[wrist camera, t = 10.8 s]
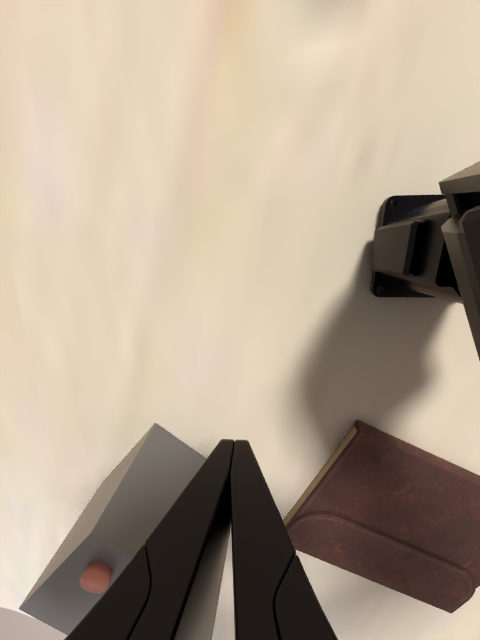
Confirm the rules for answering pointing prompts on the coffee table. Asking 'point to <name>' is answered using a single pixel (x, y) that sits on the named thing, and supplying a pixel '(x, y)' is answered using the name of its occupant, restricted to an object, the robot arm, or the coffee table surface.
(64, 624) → the block
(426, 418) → the coffee table surface
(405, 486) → the notebook
